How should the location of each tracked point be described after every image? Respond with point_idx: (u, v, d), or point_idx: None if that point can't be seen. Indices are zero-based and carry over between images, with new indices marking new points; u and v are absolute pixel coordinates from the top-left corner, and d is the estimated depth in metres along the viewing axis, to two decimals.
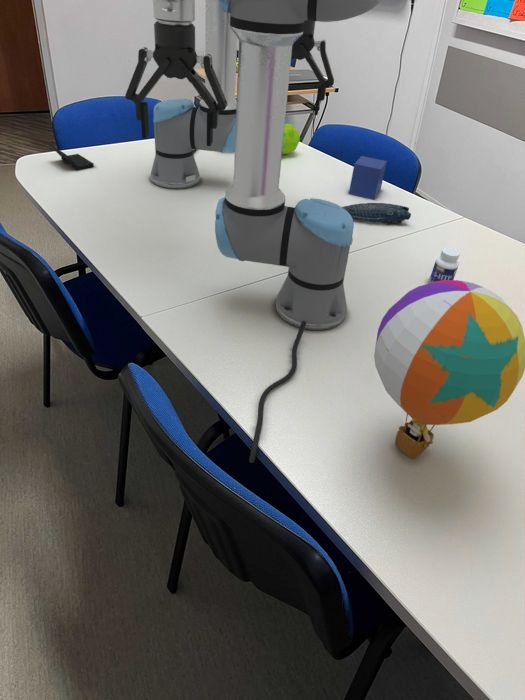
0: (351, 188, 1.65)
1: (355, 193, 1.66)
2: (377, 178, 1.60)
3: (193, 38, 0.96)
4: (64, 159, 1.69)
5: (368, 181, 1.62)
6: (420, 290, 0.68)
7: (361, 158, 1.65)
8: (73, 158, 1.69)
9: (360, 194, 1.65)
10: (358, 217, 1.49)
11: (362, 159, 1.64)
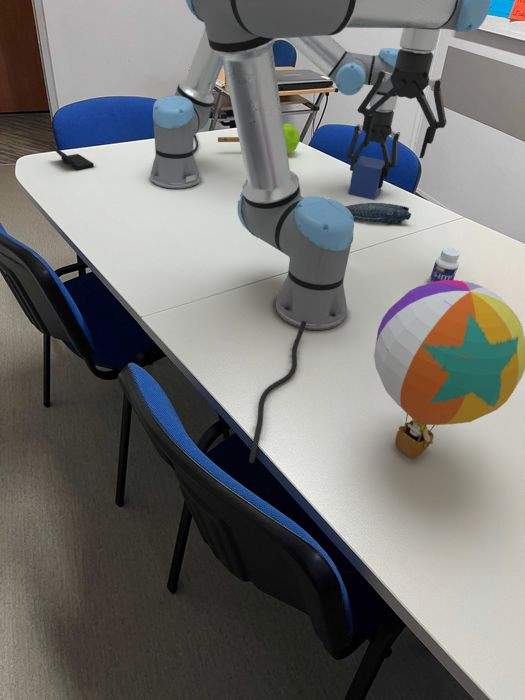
0: (351, 188, 1.65)
1: (355, 193, 1.66)
2: (377, 178, 1.60)
3: None
4: (64, 159, 1.69)
5: (368, 181, 1.62)
6: (420, 290, 0.68)
7: (361, 158, 1.65)
8: (73, 158, 1.69)
9: (360, 194, 1.65)
10: (358, 217, 1.49)
11: (362, 159, 1.64)
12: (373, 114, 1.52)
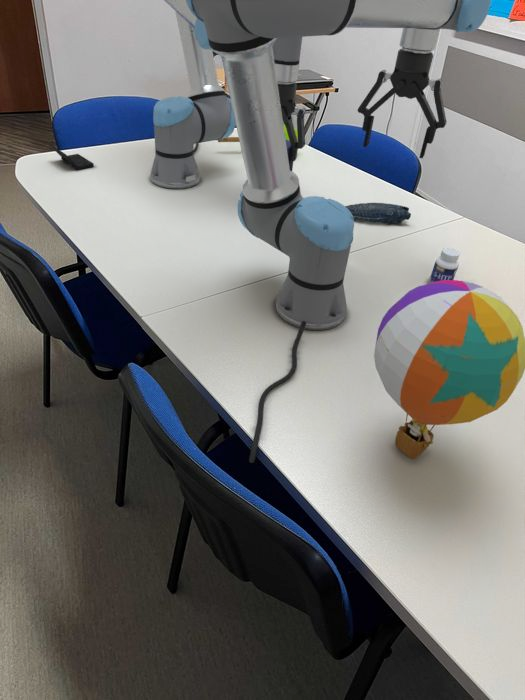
0: None
1: None
2: None
3: None
4: (64, 159, 1.69)
5: None
6: (420, 290, 0.68)
7: None
8: (73, 158, 1.69)
9: None
10: (358, 217, 1.49)
11: None
12: None
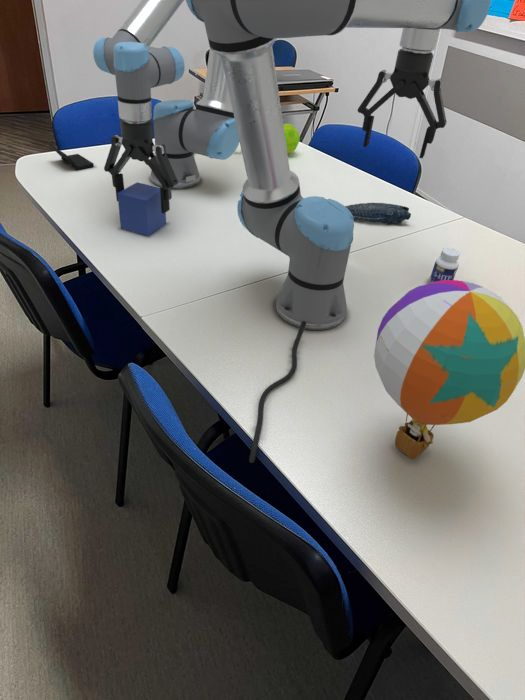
0: (122, 222, 1.35)
1: (127, 228, 1.35)
2: (145, 211, 1.30)
3: None
4: (64, 159, 1.69)
5: (137, 214, 1.31)
6: (420, 290, 0.68)
7: (133, 185, 1.34)
8: (73, 158, 1.69)
9: (132, 229, 1.35)
10: (358, 217, 1.49)
11: (133, 187, 1.34)
12: (122, 126, 1.20)
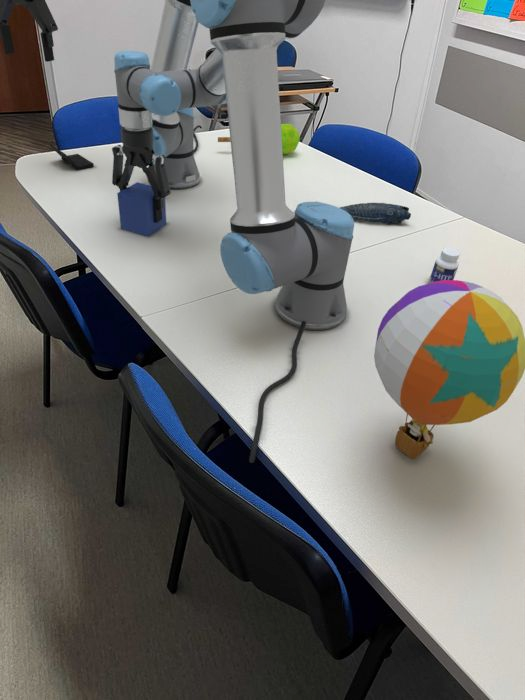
0: (122, 222, 1.35)
1: (127, 228, 1.35)
2: (145, 211, 1.30)
3: None
4: (64, 159, 1.69)
5: (137, 214, 1.31)
6: (420, 290, 0.68)
7: (133, 185, 1.34)
8: (73, 158, 1.69)
9: (132, 229, 1.35)
10: (358, 217, 1.49)
11: (133, 187, 1.34)
12: None
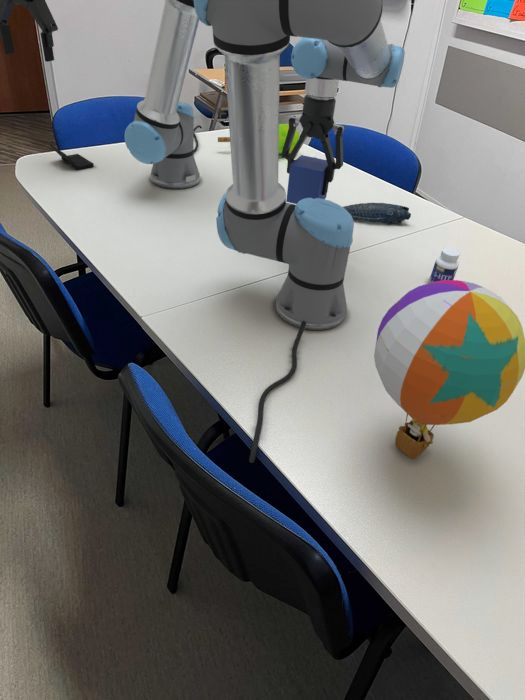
0: (288, 195, 1.34)
1: (294, 201, 1.35)
2: (319, 182, 1.29)
3: None
4: (64, 159, 1.69)
5: (308, 186, 1.31)
6: (420, 290, 0.68)
7: (300, 158, 1.34)
8: (73, 158, 1.69)
9: None
10: (358, 217, 1.49)
11: (301, 159, 1.33)
12: None
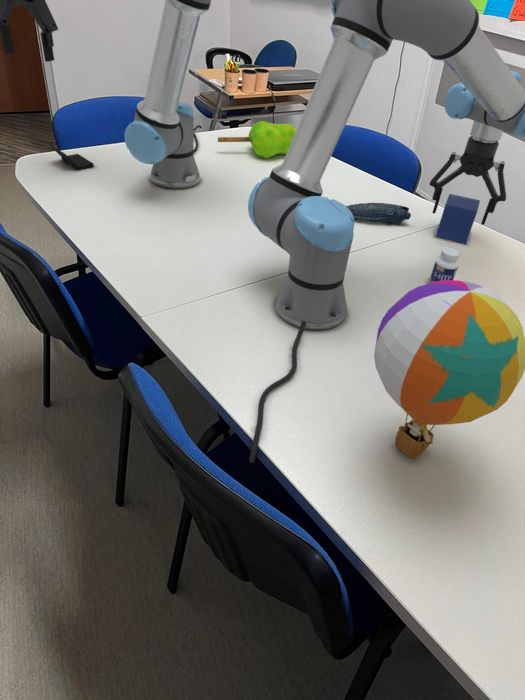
0: (439, 231, 1.45)
1: (443, 237, 1.45)
2: (472, 221, 1.40)
3: None
4: (64, 159, 1.69)
5: (461, 224, 1.42)
6: (420, 290, 0.68)
7: (450, 197, 1.45)
8: (73, 158, 1.69)
9: (449, 238, 1.45)
10: (358, 217, 1.49)
11: (452, 198, 1.44)
12: None
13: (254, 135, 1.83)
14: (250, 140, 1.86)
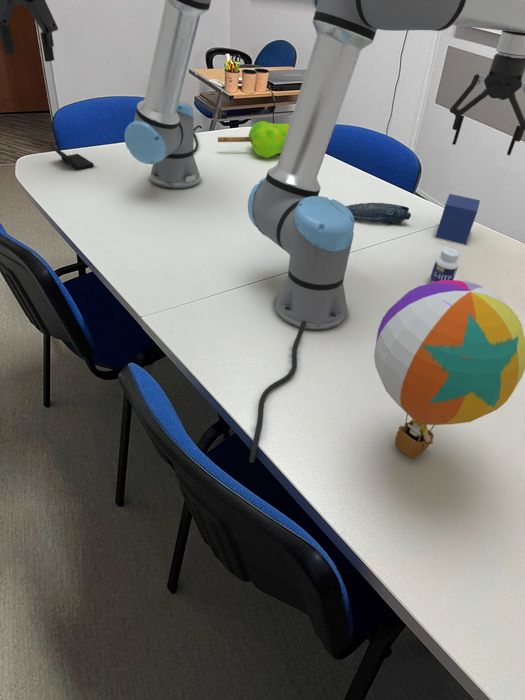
0: (439, 231, 1.45)
1: (443, 237, 1.45)
2: (472, 221, 1.40)
3: None
4: (64, 159, 1.69)
5: (461, 224, 1.42)
6: (420, 290, 0.68)
7: (450, 197, 1.45)
8: (73, 158, 1.69)
9: (449, 238, 1.45)
10: (358, 217, 1.49)
11: (452, 198, 1.44)
12: None
13: (254, 135, 1.83)
14: (250, 140, 1.86)
